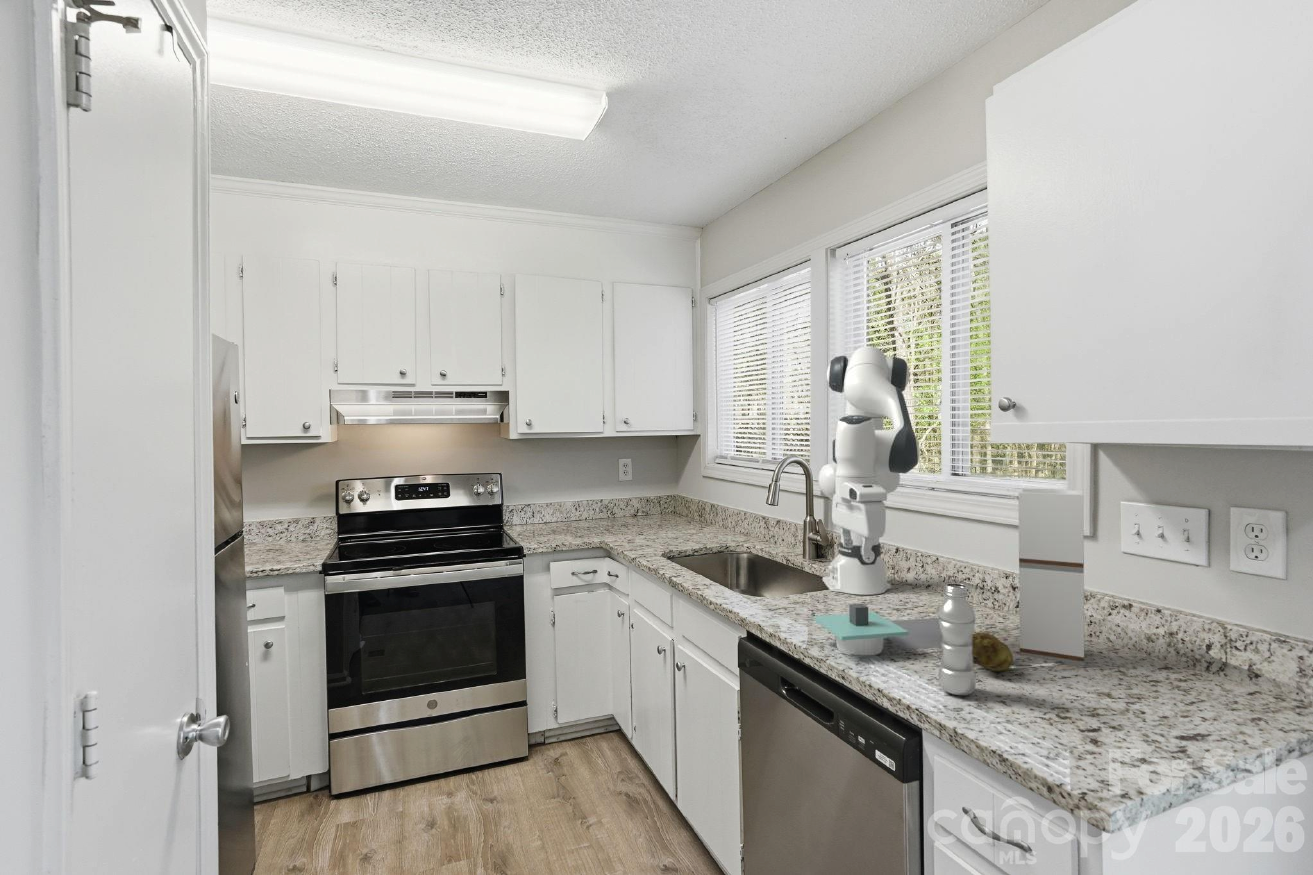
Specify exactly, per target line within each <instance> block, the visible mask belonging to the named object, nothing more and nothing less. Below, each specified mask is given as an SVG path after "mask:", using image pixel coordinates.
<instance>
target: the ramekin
mask: <svg viewBox="0 0 1313 875" xmlns="http://www.w3.org/2000/svg"><path fill="white" fill-rule="evenodd" d="M834 636H835V635H834ZM884 641H885V637H880V638H868V639H855V640H841V639H839V638H838V637H837V636H835V643H836V644H835V645H836V648H837V649H838V651H839V652H841V653H842V654H844V655H846V656H850V657H853V655H856V656H875V655H879V654H881V653H882V652H883V649H884V643H885V642H884Z"/></svg>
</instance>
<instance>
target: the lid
mask: <svg viewBox="0 0 1313 875" xmlns="http://www.w3.org/2000/svg"><path fill="white" fill-rule="evenodd" d="M848 607H849V612H848V613H841V614H830V615H829V614H827V615H814V616H813V621H814V622H816V623H817V624H819V625H820V626H822V627H823V628H824V629H826V630H827V631H828V632H829V633H831V634H832V635H834V636H837V637H838V638H839V639H841V640H855V639H868V638H880V637H884V638H886V637H893V636H906V635H909V632H908V631H907V630H905V629H903V628H901V627H900V626H898V625H896V624H894V623H892V622H891V621H892V620H888V619H887V618H886V617H884V616H882V615H881V614H878V613H877V612H874V611H869V606H867V605H865V604H863V603H851V604H849V605H848Z"/></svg>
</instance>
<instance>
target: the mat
mask: <svg viewBox="0 0 1313 875" xmlns="http://www.w3.org/2000/svg"><path fill="white" fill-rule="evenodd" d="M890 621H891V622H892V623H894V624H896V625H898V626H900V627H901V628H903V629H905V630H907V631H908V632H909V635H906V636H893V637H885V638H886V639H888V640H889V641H891V642H892V643H893V644H895V645H896V646H898V648H901V649H902V650H905V651H906V650H918V649H919V650H920V649H931V648H932V649H933V648H934V649H935V648H942V644H941V643H942V641H941V631H940V624H939V618H938V617H937V618H936V617H934V618H916V619H902V620H901V619H898V620H890Z"/></svg>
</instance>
